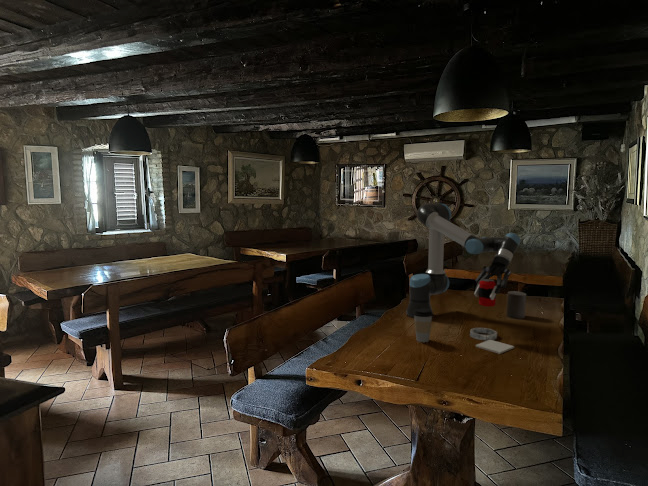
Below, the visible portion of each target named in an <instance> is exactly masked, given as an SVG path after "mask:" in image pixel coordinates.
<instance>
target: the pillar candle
mask: <svg viewBox="0 0 648 486" xmlns="http://www.w3.org/2000/svg"><path fill="white" fill-rule="evenodd" d="M526 298H527V293H525V292H522V291H517V290H516V291H514V290H513V291H508V292H507V298H506V300H507V301H506V317H508V318H511V319H516V320H517V319H519V320H520V319H524V318H525V316H526V301H527V299H526Z"/></svg>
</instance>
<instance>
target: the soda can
mask: <svg viewBox="0 0 648 486" xmlns="http://www.w3.org/2000/svg"><path fill="white" fill-rule="evenodd" d="M495 286H497V282H496V281H495V280H494V279H491V278H489V279H482V280H481V281H480V282H479V295H478V305H480V306H483V307H495V305H496V302H497V298H496V297H497V294H496V295H495V298H494V300H491V298H490V295H491V293H492V291H493V289H494V287H495Z"/></svg>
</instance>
